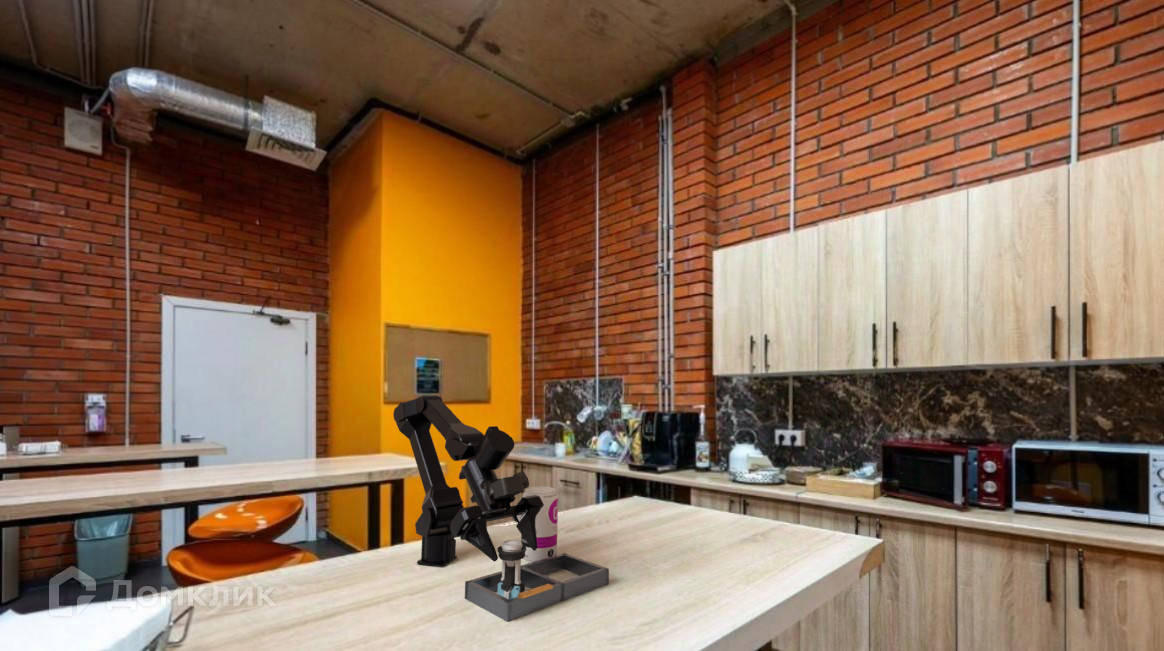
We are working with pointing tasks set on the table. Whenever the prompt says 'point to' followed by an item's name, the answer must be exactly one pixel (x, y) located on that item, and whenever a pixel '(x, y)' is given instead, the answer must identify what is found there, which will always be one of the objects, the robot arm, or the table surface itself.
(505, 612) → the grey divided tray
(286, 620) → the table surface
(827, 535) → the table surface
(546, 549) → the supplement can
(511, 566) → the push button
